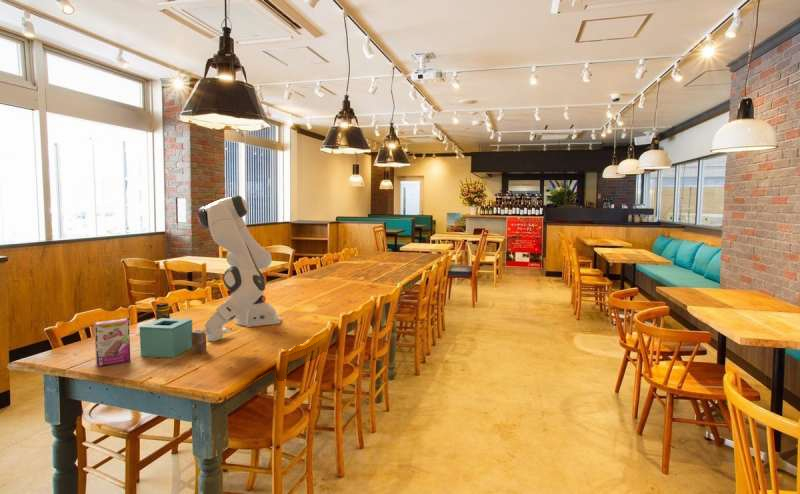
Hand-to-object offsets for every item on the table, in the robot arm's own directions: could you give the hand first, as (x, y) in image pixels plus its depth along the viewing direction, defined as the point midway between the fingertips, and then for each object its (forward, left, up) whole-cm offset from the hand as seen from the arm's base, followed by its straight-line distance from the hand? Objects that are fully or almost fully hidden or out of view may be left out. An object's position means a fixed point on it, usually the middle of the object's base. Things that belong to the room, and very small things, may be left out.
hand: (211, 330), depth 189 cm
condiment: (+29, -47, -10) cm, 57 cm away
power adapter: (-1, -21, -10) cm, 24 cm away
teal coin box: (+18, -7, -10) cm, 22 cm away
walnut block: (+5, -2, -10) cm, 11 cm away
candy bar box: (+35, +3, -10) cm, 37 cm away
